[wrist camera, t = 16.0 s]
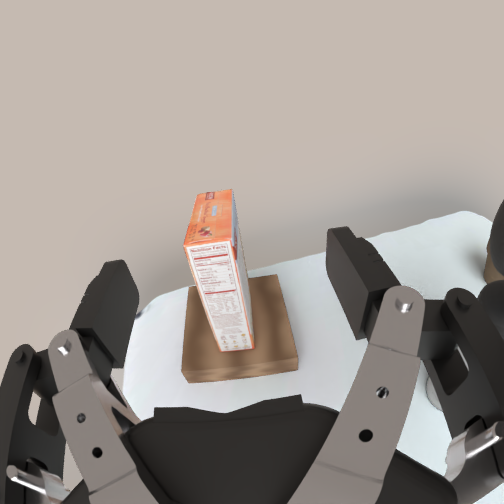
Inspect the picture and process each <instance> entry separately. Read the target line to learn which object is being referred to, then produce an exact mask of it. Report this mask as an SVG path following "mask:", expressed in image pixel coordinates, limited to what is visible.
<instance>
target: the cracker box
mask: <svg viewBox="0 0 504 504" xmlns="http://www.w3.org/2000/svg"><path fill="white" fill-rule="evenodd" d="M183 246H184V250H185V253H186V256H187V259H188V262H189V266H190V269H191V272H192V275H193V277H194V280H195V283H196V286H197V289H198V292H199V295H200V298H201V301H202V304H203V307H204V309H205V312H206V315H207V318H208V321H209V323H210V326H211V329H212V331H213V334H214V337H215V339H216V342H217V345H218V347H219V350H220V352H228V351H238V350H248V349H254V348H255V345H254V332H253V319H252V307H251V297H250V287H249V281H248V276H247V270H246V264H245V259H244V253H243V247H242V241H241V236H240V229H239V223H238V217H237V211H236V207H235V200H234V194H233V190H232V189H230V190H223V191H217V192H208V193H202V194H199V195H197V196H196V200H195V204H194V208H193V212H192V215H191V219H190V223H189V226H188V230H187V234H186V237H185V241H184V245H183Z"/></svg>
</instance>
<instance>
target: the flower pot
mask: <svg viewBox="0 0 504 504" xmlns="http://www.w3.org/2000/svg"><path fill="white" fill-rule="evenodd" d="M489 244H490V239H489V241H488V244H487V253H488V255H487V260H486V265H485V271H484V279H485V281H486V282H487V284H489V283H490V282H493V281H497V280H504V276H502V275H501V274H500V273H499V272H498V271H497V270H496V268H495V267H494V265H493V262H492V260H491V255H490V246H489Z"/></svg>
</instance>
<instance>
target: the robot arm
mask: <svg viewBox="0 0 504 504" xmlns="http://www.w3.org/2000/svg"><path fill="white" fill-rule="evenodd" d="M489 246H490V255H491V260H492V262H493V265H494V267H495V268H496V270H497V271H498V272H499V273H500V274H501V275H502V276H504V200H503V202H502V204H501V205H500V207H499V209H498V212H497V214H496V216H495V219H494V222H493V225H492V229H491V234H490V244H489ZM326 270H327V274H328V277H329V279H330V281H331V284H332V286H333V288H334V290H335V292H336V295H337V297H338V299H339V301H340V303H341V306H342V308H343V310H344V313H345V315H346V317H347V319H348V322H349V324H350V326H351V329H352V331H353V333H354V336H355V338H356V340H360V339H364V338H367V340H368V343H369V344H368V346H367V349H366V352H365V354H364V357H363V360H362V362H361V365H360V367H359V370H358V372H357V375H356V377H355V380H354V382H353V384H352V387H351V389H350V391H349V394H348V396H347V398H346V400H345V403H344V405H343V407H342V409H341V411H340V412H338V411H336V410H334V409H331V408H329V407H326V406H322V405H317V404H311V403H303V401H302V397H301V394H300V395H294V396H289V397H283V398H277V399H270V400H263V401H261V402H258V403H255V404H253V405H250V406H247V407H244V408H241V409H238V410H235V411H232V412H229V413H217V412H211V411H206V410H200V409H195V408H190V407H154V417H151V418H149V419H146V420H143V421H141V420H140V419H139V418H138V417H137V416H136V415H135V413H134V412H133V410H132V409H131V407H130V405H129V404H128V402H127V400H126V399H125V397H124V395H123V393H122V392H121V390H120V388H119V386H118V385H117V383H116V381H115V379H114V377H113V376H112V375H111V371H112V368H123V367H124V362H125V357H126V353H127V348H128V344H129V340H130V336H131V332H132V328H133V324H134V320H135V316H136V312H137V308H138V305H139V292H138V289H137V286H136V284H135V282H134V280H133V278H132V276H131V273H130V271H129V269H128V267H127V265H126V263H125V261H124V260H115V261H110V262H105V263H104V265H103V267H102V269H101V271H100V273H99V275H98V276H96V277H95V278H94V279H93V281H92V282H91V283H90V284H89V285H88V287H87V289H86V292H85V296H83V298H82V300H81V304H80V305H79V307H78V309H77V312H76V314H75V316H74V318H73V321H72V323H71V326H70V328H69V330H64V331H62V332H60V333H58V334H57V335H56V336H55V337H54V338H53V340H52V341H51V343H50V345H49V348H48V349H46V350H43V351H40V352H37V353H36V352H35V350H34V349H33V348H32V347H31V346H30V345H28V344H23V345H21V346H19V347H18V348H17V349H16V350H15V351H14V352H13V353H12V355H11V357H10V360H9V362H8V365H7V369H6V371H5V374H4V377H3V380H2V383H1V386H0V504H473V503H474V502H476V501H478V500H479V499H481V498H482V497H484V496H485V495H486V494H488V493H489V492H491V491H492V490H493V489H495V488H496V487H498V486H499V485H500V484H502V483H504V280H497V281H493V282H490V283H489V284H487V285H486V286H485V287H484V288H483V289H482V290H481V292H480V294H479V295H478V298H476V297H475V296H474V295H473V294H472V293H471V292H469V291H468V290H465V289H462V288H453V289H451V290H449V291H448V292H447V294H446V296H445V299H444V300H427V299H423V297H422V296H421V294H420V293H419V292H417V291H416V290H414V289H412V288H410V287H407V286H402V285H401V284H400V282H399V281H398V279H397V278H396V277H395V275H394V274H393V272H392V271H391V269H390V268H389V267H388V265H387V264H386V262H385V261H383V258H382V257H381V256H380V254H378V251H377V250H376V249H375V247H374V246H373V245H372V244H371V243H370V242H368V241H367V240H365V239H364V238H362V237H361V238H356V237H355V235H354V234H353V233H352V231H351V230H350V229H349V227H347V226H346V227H338V228H331V229H328V232H327V248H326ZM420 360H423V362H424V365H425V367H426V369H427V372H428V374H429V378H428V381H427V386H426V390H427V395H428V398H429V400H430V402H431V403H432V404H433V405H434V406H435V407H436V408H437V409H439V410H441V411H443V413H444V416H445V419H446V422H447V425H448V428H449V431H450V434H451V437H452V441H451V443H450V444H449V446H448V449H447V456H446V459H445V462H446V464H447V470H446V473H445V475H444V476H442V475H440V474H438V473H436V472H435V471H433V470H431V469H429V468H427V467H426V466H424V465H422V464H420V463H419V462H417V461H415V460H414V459H412V458H410V457H408V456H407V455H405V454H403V453H402V452H400V451H399V450H397V449H396V446H397V444H398V441H399V438H400V435H401V432H402V429H403V426H404V423H405V420H406V417H407V414H408V410H409V407H410V404H411V400H412V396H413V392H414V389H415V385H416V380H417V376H418V372H419V367H420ZM33 392H34V393H36V394H37V395H38V396H39V397H40V398H41V401H40V406H39V410H38V415H37V420H36V425H34V424H32V423H31V421H30V419H29V416H28V409H29V405H30V401H31V397H32V393H33ZM66 441H67V444H68V446H69V448H70V451H71V453H72V455H73V458H74V460H75V462H76V464H77V466H78V468H79V470H80V473H81V475H82V477H83V480H82V481H81V482H80V483H79V484H78V485H77V486H76V487H75V488H74V489H73V490H72V491H71V492H70V490H69V489H68V488H65V486H64V484H63V467H64V466H63V465H64V455H65V444H66Z"/></svg>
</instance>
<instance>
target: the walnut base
mask: <svg viewBox="0 0 504 504" xmlns="http://www.w3.org/2000/svg"><path fill="white" fill-rule="evenodd" d="M248 281H249V287H250V297H251V307H252V319H253V332H254V345H255V348H254V349H248V350H238V351H228V352H220V350H219V347H218V345H217V342H216V339H215V337H214V334H213V331H212V329H211V326H210V323H209V321H208V318H207V315H206V312H205V309H204V307H203V304H202V301H201V298H200V295H199V292H198V289H197V286H192V287H189V291H188V300H187V309H186V319H185V330H184V342H183V355H182V369H181V372H182V373H183V375H184V377H185V378H186V380H187V381H188V383H201V382H213V381H224V380H234V379H242V378H250V377H258V376H265V375H271V374H278V373H284V372H289V371H295V370H298V355H297V351H296V347H295V343H294V339H293V335H292V331H291V327H290V323H289V319H288V315H287V311H286V307H285V303H284V300H283V296H282V292H281V288H280V284H279V280H278V276H277V274H275V275H269V276H262V277H256V278H249V279H248Z"/></svg>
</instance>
